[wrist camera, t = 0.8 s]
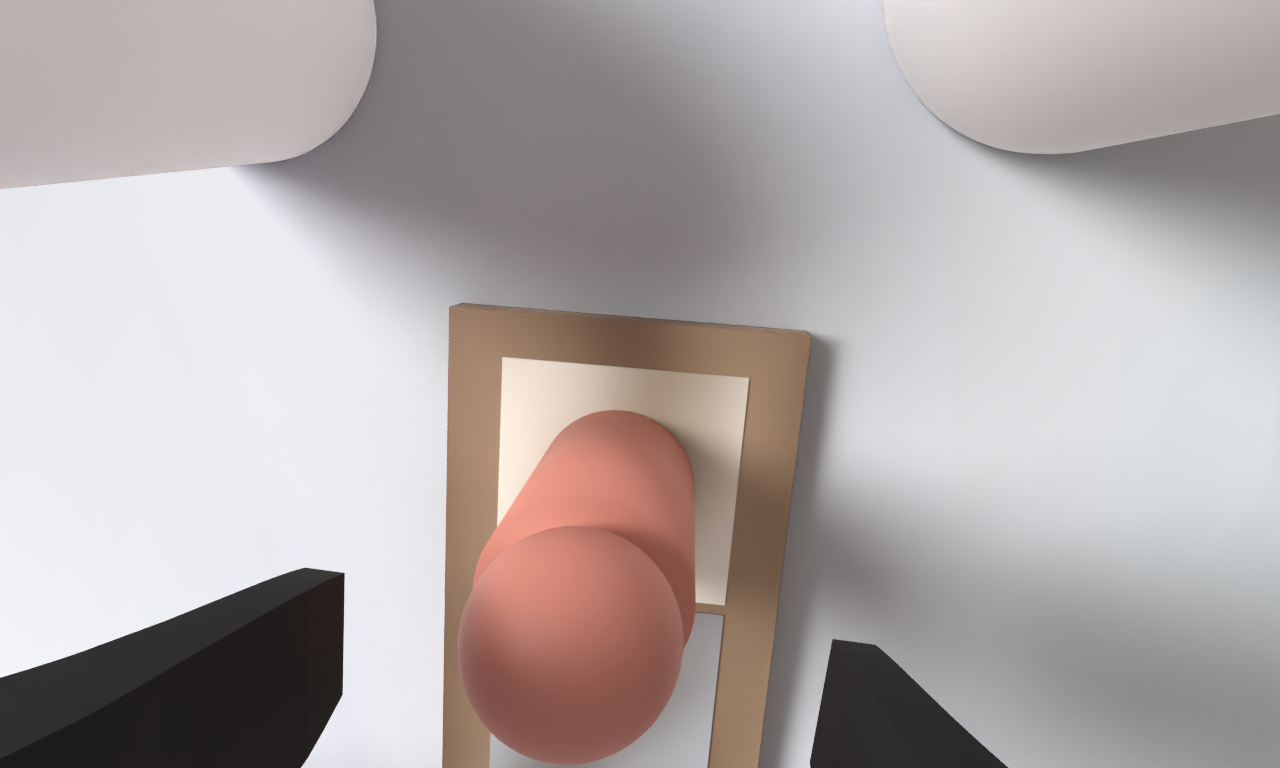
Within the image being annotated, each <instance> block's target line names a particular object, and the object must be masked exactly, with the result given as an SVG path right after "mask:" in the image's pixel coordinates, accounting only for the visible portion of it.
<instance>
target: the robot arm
mask: <svg viewBox="0 0 1280 768" xmlns="http://www.w3.org/2000/svg"><path fill="white" fill-rule="evenodd" d="M344 574H345V573H340V572H332V571H325V570H318V569H310V568H302V569H299V570H295V571H292V572H289V573H286V574H283V575H280V576H277V577H275V578H272V579H269V580H267V581H264V582H261V583H259V584H256V585H254V586H251V587H249V588H246V589H244V590H241V591H239V592H236V593H234V594H231V595H229V596H226V597H224V598H222V599H219V600H217V601H214V602H212V603H209V604H207V605H204V606H202V607H199V608H197V609H194V610H192V611H189V612H187V613H184V614H182V615H179V616H177V617H174V618H172V619H169V620H167V621H164V622H162V623H159V624H156V625H154V626H151V627H148V628H145V629H143V630H140V631H137V632H135V633H132V634H129V635H126V636H124V637H121V638H118V639H116V640H113V641H110V642H107V643H105V644H102V645H99V646H97V647H94V648H91V649H88V650H86V651H83V652H80V653H77V654H74V655H71V656H69V657H66V658H63V659H60V660H57V661H53V662H50V663H47V664H44V665H41V666H38V667H35V668H32V669H29V670H25V671H22V672H18V673H15V674H12V675H8V676H5V677H2V678H0V768H301V767H302V765H303V764H304V762H305V761H306V759H307V758H308V756H309V755H310V753H311V751H312V749H313V748H314V746H315V744H316V742H317V741H318V739H319V737H320V735H321V734H322V732H323V730H324V728H325V726H326V725H327V723H328V721H329V719H330V717H331V715H332V713H333V711H334V710H335V708H336V706H337V704H338V702H339V700H340V698H341V696H342V692H343V633H344ZM810 766H811V768H1008V767H1007V766H1006V765H1004V764H1003V763H1002V762H1001V761H1000V760H999V759H998V758H996V757H995V756H994V755H993V754H992V753H991V752H990V751H989V750H987V749H986V748H985V747H984V746H983V745H982V744H981V743H980V742H978V741H977V740H976V739H975V738H974V737H973V736H972V735H971V734H970V733H969V732H968V731H966V730H965V729H964V728H963V727H962V726H961V725H960V724H959V723H958V722H957V721H956V720H955V719H954V718H953V717H952V716H950V715H949V714H948V713H947V712H946V711H945V710H944V709H943V708H942V707H941V706H940V705H939V704H938V703H937V702H936V701H935V700H934V699H933V698H932V697H931V696H930V695H929V694H928V693H927V692H925V691H924V690H923V689H922V688H921V687H920V686H919V685H918V684H917V683H916V682H915V681H914V680H913V679H912V678H911V677H910V676H909V675H908V674H907V673H906V672H905V671H904V670H903V669H902V668H901V667H900V666H899V665H898V664H896V663H895V662H894V661H893V660H892V659H891V658H890V657H889V656H888V655H887V654H886V653H885V652H883V651H882V650H881V649H880V648H879V647H877V646H876V645H872V644H865V643H857V642H850V641H842V640H835V639H833V640H832V645H831V651H830V656H829V662H828V667H827V672H826V678H825V683H824V689H823V694H822V700H821V705H820V710H819V716H818V721H817V727H816V732H815V738H814V743H813V748H812V754H811V759H810Z"/></svg>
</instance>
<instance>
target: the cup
mask: <svg viewBox="0 0 1280 768" xmlns="http://www.w3.org/2000/svg"><path fill="white" fill-rule="evenodd" d="M376 41H377V24H376V11H375V5H374V0H0V189H5V188H16V187H26V186H37V185H47V184H57V183H67V182H77V181H87V180H97V179H107V178H117V177H127V176H138V175H148V174H158V173H168V172H178V171H188V170H198V169H208V168H218V167H228V166H238V165H248V164H258V163H268V162H277V161H282V160H286V159H291V158H294V157H296V156H299V155H302V154H304V153H306V152H308V151H311V150H313V149H314V148H316V147H318V146H319V145H321V144H322V143H324V142H325V141H326V140H328V139H329V138H330V137H331V136H333V135H334V134H335V133H336V132H337V131H338V130H339V129H340V128H341V127H342V126H343V125H344V123H345V122H346V121H347V120H348V119H349V117H350V116H351V115H352V113H353V112H354V110H355V109H356V107H357V105H358V104H359V102H360V100H361V98H362V96H363V94H364V92H365V89H366V87H367V84H368V82H369V78H370V75H371V72H372V68H373V63H374V58H375V51H376Z"/></svg>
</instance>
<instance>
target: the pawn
mask: <svg viewBox="0 0 1280 768" xmlns="http://www.w3.org/2000/svg"><path fill="white" fill-rule="evenodd" d="M695 603H696V593H695V521H694V478H693V471H692V467H691V463H690V461H689V458H688V456H687V454H686V452H685V450H684V448H683V447H682V445H681V444H680V442H679V441H678V440H677V439H676V437H675V436H674V435H673V434H672V433H671V432H670V431H669V430H668V429H666V428H665V427H664V426H662V425H661V424H660V423H658V422H656V421H655V420H653V419H651V418H649V417H646V416H644V415H642V414H638V413H635V412H630V411H624V410H606V411H599V412H595V413H591V414H588V415H586V416H583V417H581V418H579V419H577V420H575V421H574V422H572V423H571V424H569V425H568V426H567V427H565V428H564V429H563V430H562V431H561V432H560V433H559V434H558V435H557V437H556V438H555V439H554V440H553V442H552V443H551V445H550V446H549V448H548V449H547V451H546V452H545V454H544V455H543V457H542V459H541V460H540V462H539V463H538V465H537V466H536V468H535V469H534V471H533V473H532V474H531V476H530V477H529V479H528V480H527V482H526V483H525V485H524V486H523V488H522V490H521V491H520V493H519V494H518V496H517V497H516V499H515V500H514V502H513V503H512V505H511V507H510V508H509V510H508V511H507V513H506V514H505V516H504V517H503V519H502V521H501V522H500V524H499V525H498V527H497V528H496V530H495V531H494V533H493V534H492V536H491V538H490V539H489V541H488V542H487V544H486V546H485V548H484V549H483V551H482V553H481V556H480V558H479V561H478V563H477V566H476V570H475V574H474V581H473V589H472V591H471V594H470V596H469V598H468V601H467V603H466V605H465V608H464V611H463V615H462V619H461V623H460V628H459V635H458V664H459V670H460V675H461V680H462V683H463V686H464V689H465V692H466V695H467V698H468V700H469V702H470V704H471V706H472V708H473V710H474V711H475V713H476V714H477V716H478V717H479V719H480V720H481V722H482V723H483V724H484V725H485V727H486V728H487V729H488V730H489V731H490V732H491V733H492V734H493V735H494V736H495V737H496V738H497V739H498V740H499V741H501V742H502V743H503V744H505V745H506V746H508V747H509V748H511V749H512V750H514V751H516V752H518V753H520V754H522V755H524V756H527V757H529V758H531V759H535V760H538V761H542V762H546V763H552V764H562V765H574V764H584V763H589V762H594V761H597V760H600V759H603V758H606V757H608V756H610V755H612V754H615V753H617V752H619V751H621V750H623V749H624V748H626V747H628V746H629V745H631V744H632V743H633V742H634V741H636V740H637V739H638V738H639V737H641V736H642V735H643V734H644V733H645V732H646V731H647V730H648V729H649V728H650V727H651V726H652V725H653V724H654V723H655V721H656V720H657V718H658V717H659V716H660V714H661V713H662V711H663V710H664V708H665V707H666V705H667V704H668V702H669V700H670V697H671V695H672V693H673V691H674V688H675V686H676V683H677V680H678V677H679V674H680V669H681V663H682V657H683V650H684V648H685V646H686V644H687V642H688V640H689V637H690V634H691V631H692V628H693V623H694V617H695Z"/></svg>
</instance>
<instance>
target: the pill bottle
mask: <svg viewBox="0 0 1280 768" xmlns="http://www.w3.org/2000/svg"><path fill="white" fill-rule="evenodd" d="M882 4H883V14H884V21H885V26H886V31H887V35H888V39H889V42H890V46H891V49H892V52H893V54H894V57H895V59H896V62H897V64H898V66H899V68H900V70H901V72H902V74H903V76H904V77H905V79H906V81H907V82H908V84H909V86H910V87H911V89H912V90H913V91H914V93H915V94H916V95H917V97H918V98H919V99H920V100H921V101H922V103H923V104H924V105H925V106H926V107H927V108H928V109H929V110H930V111H931V112H932V113H933V114H934V115H936V116H937V117H938V118H939V119H940V120H942V121H943V122H944V123H945V124H947V125H948V126H950V127H951V128H953V129H954V130H956V131H957V132H959V133H961V134H963V135H965V136H966V137H968V138H971V139H973V140H975V141H977V142H980V143H982V144H985V145H988V146H991V147H995V148H998V149H1002V150H1007V151H1013V152H1019V153H1030V154H1067V153H1076V152H1083V151H1088V150H1093V149H1099V148H1104V147H1109V146H1115V145H1120V144H1125V143H1130V142H1136V141H1141V140H1146V139H1151V138H1157V137H1162V136H1167V135H1172V134H1178V133H1183V132H1188V131H1194V130H1199V129H1204V128H1209V127H1215V126H1220V125H1225V124H1230V123H1236V122H1241V121H1246V120H1251V119H1257V118H1262V117H1267V116H1273V115H1278V114H1280V0H882Z"/></svg>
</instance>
